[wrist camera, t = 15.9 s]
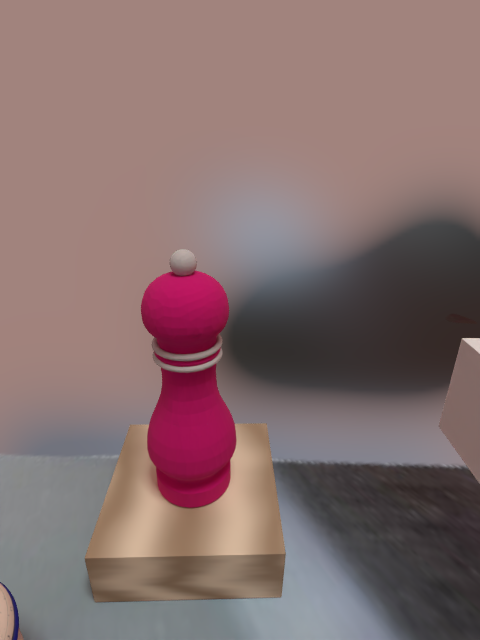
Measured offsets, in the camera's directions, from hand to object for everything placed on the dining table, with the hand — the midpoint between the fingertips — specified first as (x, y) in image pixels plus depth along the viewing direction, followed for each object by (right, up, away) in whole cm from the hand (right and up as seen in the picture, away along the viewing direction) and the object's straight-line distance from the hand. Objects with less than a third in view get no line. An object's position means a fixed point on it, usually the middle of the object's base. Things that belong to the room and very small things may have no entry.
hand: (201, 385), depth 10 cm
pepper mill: (-3, -12, +23) cm, 27 cm away
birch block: (-3, -16, +26) cm, 30 cm away
